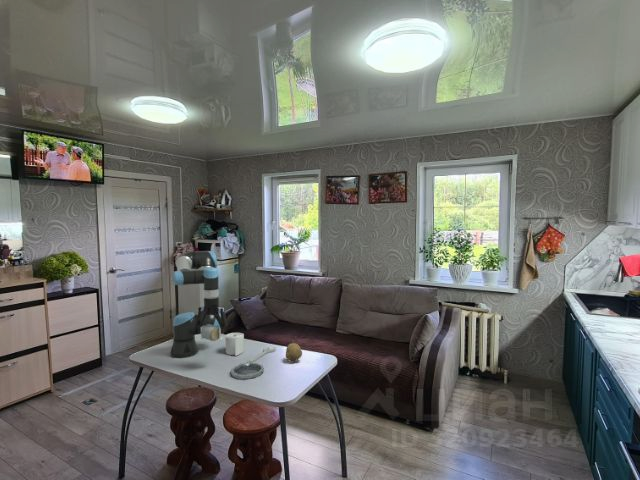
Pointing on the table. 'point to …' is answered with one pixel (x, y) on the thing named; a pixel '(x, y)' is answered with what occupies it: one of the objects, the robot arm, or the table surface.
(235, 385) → the table surface
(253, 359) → the adjustable wrench
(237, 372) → the flange seat
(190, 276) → the robot arm
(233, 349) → the toilet tissue
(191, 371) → the table surface
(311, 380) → the table surface
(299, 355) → the natural sponge
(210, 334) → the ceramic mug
